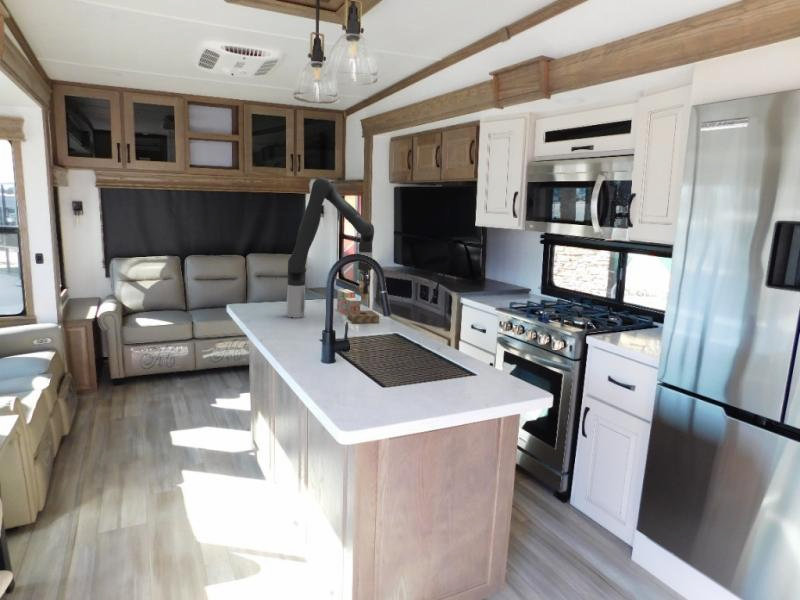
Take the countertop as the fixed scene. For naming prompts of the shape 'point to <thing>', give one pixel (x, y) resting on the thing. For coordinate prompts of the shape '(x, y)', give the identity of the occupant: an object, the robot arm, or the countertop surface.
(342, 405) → the countertop surface
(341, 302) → the stack of blocks
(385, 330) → the countertop surface
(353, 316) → the walnut board
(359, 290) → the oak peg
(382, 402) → the countertop surface
